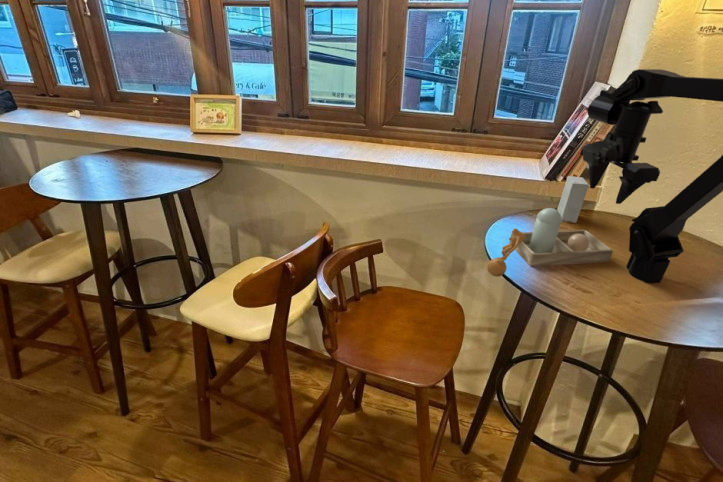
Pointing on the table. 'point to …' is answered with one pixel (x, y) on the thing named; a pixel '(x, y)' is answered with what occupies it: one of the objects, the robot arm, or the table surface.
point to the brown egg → (578, 242)
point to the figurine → (505, 254)
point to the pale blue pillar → (545, 231)
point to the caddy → (565, 251)
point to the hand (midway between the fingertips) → (604, 195)
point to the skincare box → (572, 198)
